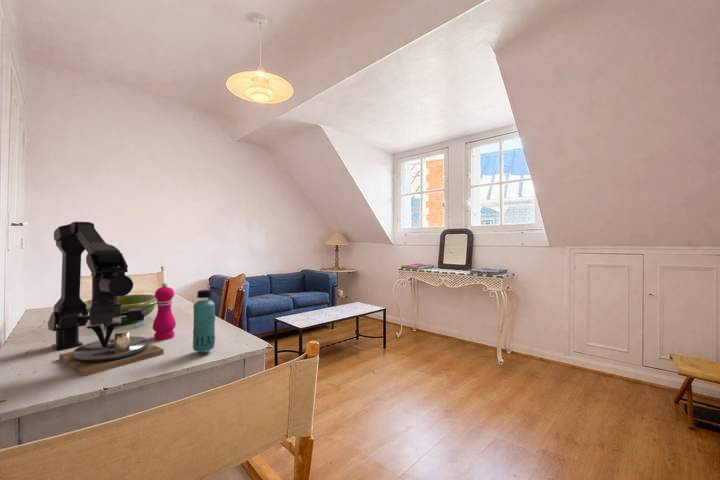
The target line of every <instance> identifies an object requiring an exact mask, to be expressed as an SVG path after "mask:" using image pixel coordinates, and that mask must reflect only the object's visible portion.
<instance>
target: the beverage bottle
mask: <svg viewBox="0 0 720 480" xmlns="http://www.w3.org/2000/svg"><path fill="white" fill-rule="evenodd" d="M196 296H197V297H196V298H198V299H200V300H197V301H196V302H194V304H193V330H192V349H193V351H194V352H199V353H200V352H207V351H210V350H213V349H214V348H215V345H216V344H215V342H216V327H215V326H216V325H215V324H216V322H215V321H216V310H215V308H216V307H215V306H216V303H215V302H214V301H213V300H212V299H208V298H212V290H211V289H201V290H198V291H197V295H196ZM206 298H207V299H206Z"/></svg>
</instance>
